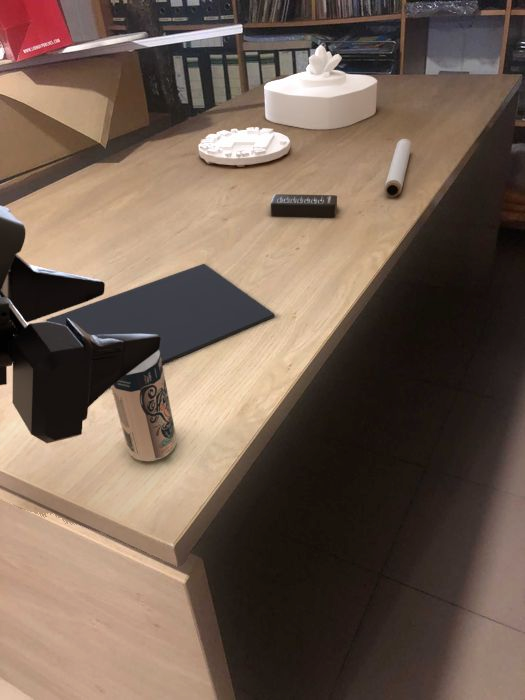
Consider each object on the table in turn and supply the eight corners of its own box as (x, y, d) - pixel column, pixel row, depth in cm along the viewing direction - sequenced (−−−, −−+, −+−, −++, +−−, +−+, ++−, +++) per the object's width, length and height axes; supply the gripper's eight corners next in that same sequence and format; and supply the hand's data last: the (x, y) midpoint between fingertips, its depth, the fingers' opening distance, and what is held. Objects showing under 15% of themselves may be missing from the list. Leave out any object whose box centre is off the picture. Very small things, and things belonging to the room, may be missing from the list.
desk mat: (98, 391, 66) (97, 388, 66) (46, 322, 78) (45, 319, 78) (274, 317, 76) (274, 313, 76) (204, 266, 89) (204, 263, 88)
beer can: (173, 464, 56) (153, 363, 49) (123, 465, 57) (96, 365, 50) (180, 429, 60) (162, 331, 53) (133, 430, 60) (109, 333, 53)
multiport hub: (275, 206, 106) (274, 193, 104) (337, 207, 104) (337, 194, 102) (270, 216, 102) (270, 203, 101) (334, 218, 100) (335, 204, 99)
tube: (400, 199, 105) (410, 153, 124) (401, 182, 103) (412, 138, 123) (383, 198, 106) (396, 153, 125) (384, 181, 104) (397, 138, 123)
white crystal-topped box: (388, 109, 154) (393, 39, 144) (330, 133, 139) (331, 58, 130) (312, 97, 168) (311, 33, 158) (252, 118, 153) (247, 49, 144)
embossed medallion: (258, 174, 119) (257, 159, 118) (181, 161, 128) (179, 148, 126) (305, 145, 133) (305, 132, 131) (232, 136, 142) (231, 123, 140)
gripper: (-92, 277, 25) (215, 259, 35) (-154, 157, 37) (86, 168, 47) (-77, 479, 30) (187, 415, 40) (-135, 316, 42) (78, 297, 52)
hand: (129, 313), depth 44 cm, fingers open, 9 cm apart
